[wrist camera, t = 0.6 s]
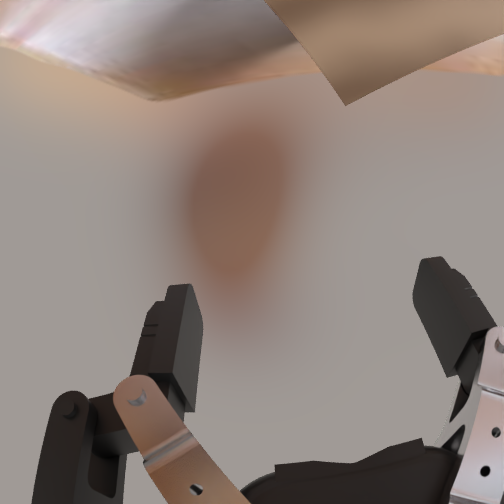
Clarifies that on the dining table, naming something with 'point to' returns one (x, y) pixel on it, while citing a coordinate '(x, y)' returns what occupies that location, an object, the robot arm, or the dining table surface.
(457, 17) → the brown wooden small table
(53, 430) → the robot arm
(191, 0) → the dining table surface
